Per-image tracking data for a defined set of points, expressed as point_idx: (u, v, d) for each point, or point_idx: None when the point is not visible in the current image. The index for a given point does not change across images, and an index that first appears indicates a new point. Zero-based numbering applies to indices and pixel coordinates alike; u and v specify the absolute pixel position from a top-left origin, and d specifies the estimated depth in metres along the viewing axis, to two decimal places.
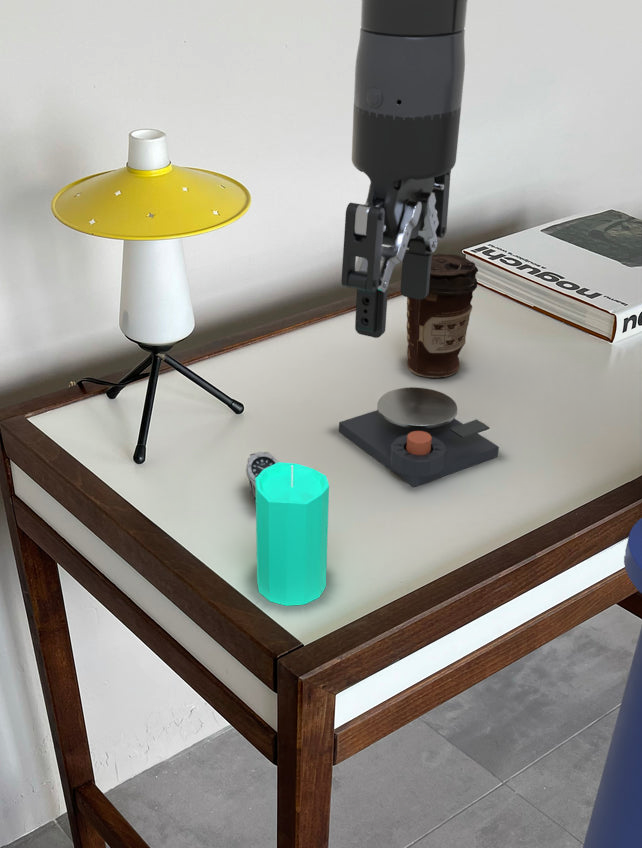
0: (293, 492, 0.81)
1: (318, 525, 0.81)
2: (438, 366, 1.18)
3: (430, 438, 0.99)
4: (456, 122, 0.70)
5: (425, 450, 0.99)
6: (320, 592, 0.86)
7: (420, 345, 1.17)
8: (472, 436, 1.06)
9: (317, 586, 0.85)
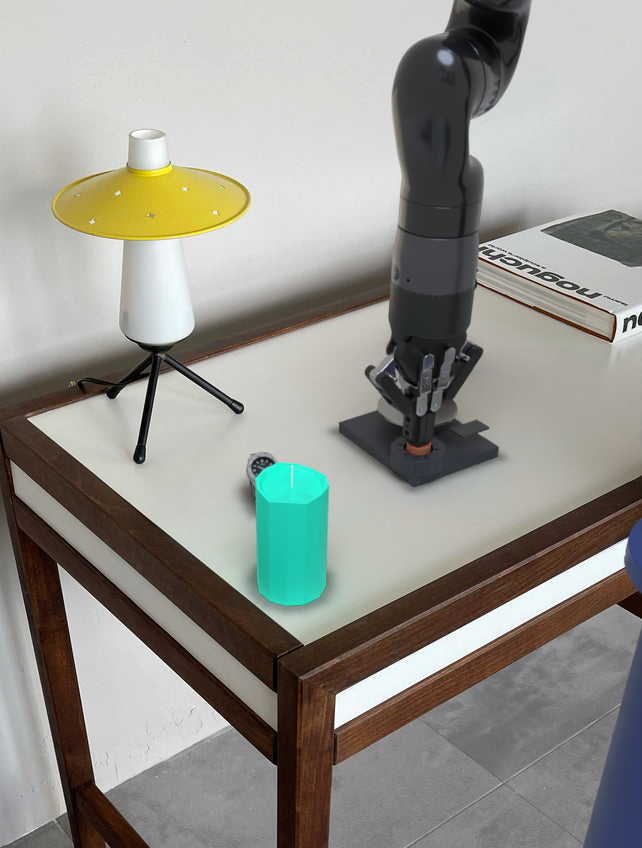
0: (293, 492, 0.81)
1: (318, 525, 0.81)
2: None
3: (429, 444, 1.00)
4: (459, 301, 0.88)
5: None
6: (320, 592, 0.86)
7: None
8: (472, 436, 1.06)
9: (317, 586, 0.85)
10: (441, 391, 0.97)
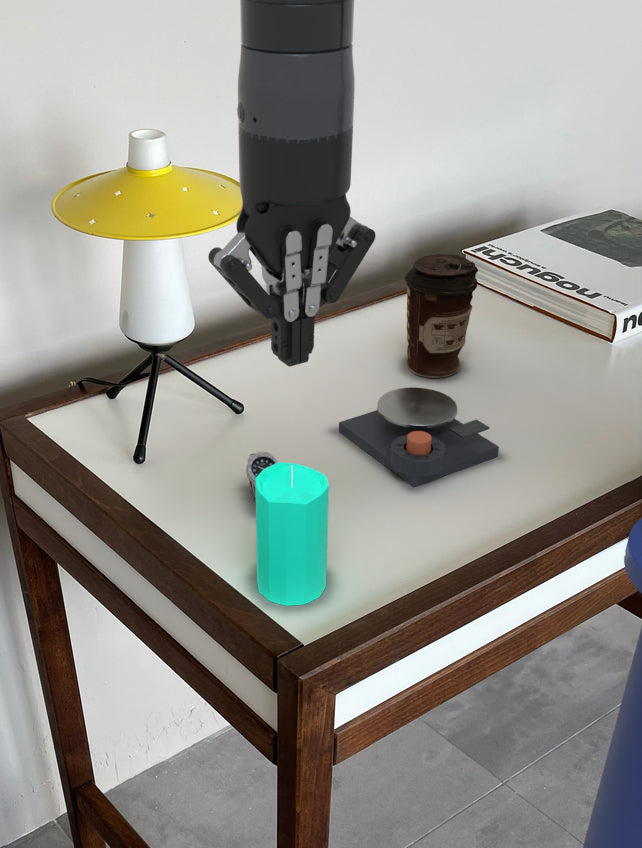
0: (293, 492, 0.81)
1: (318, 525, 0.81)
2: (438, 366, 1.18)
3: (430, 438, 0.99)
4: (327, 150, 0.64)
5: (425, 450, 0.99)
6: (320, 592, 0.86)
7: (420, 345, 1.17)
8: (472, 436, 1.06)
9: (317, 586, 0.85)
10: (318, 288, 0.72)
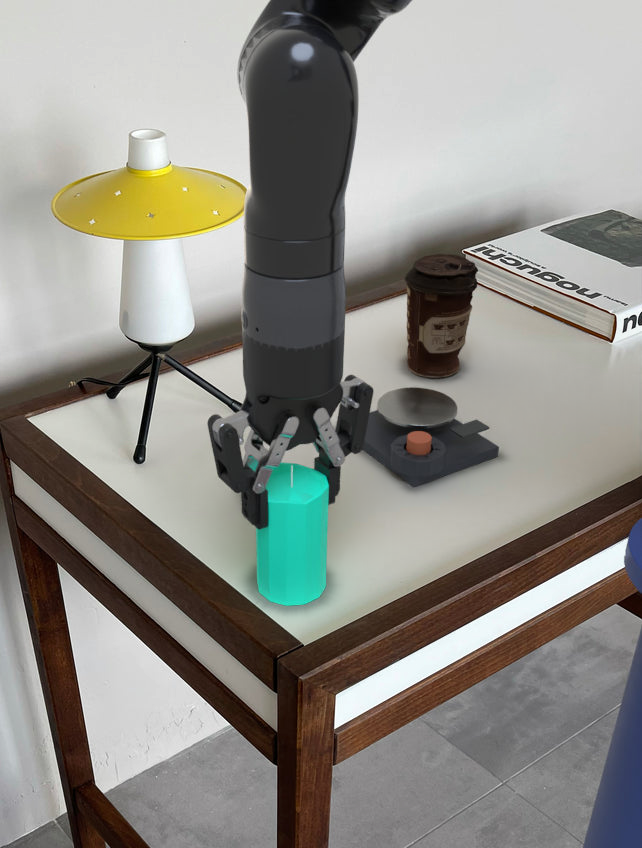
0: (293, 492, 0.81)
1: (318, 525, 0.81)
2: (438, 366, 1.18)
3: (430, 438, 0.99)
4: (322, 355, 0.72)
5: (425, 450, 0.99)
6: (320, 592, 0.86)
7: (420, 345, 1.17)
8: (472, 436, 1.06)
9: (317, 586, 0.85)
10: (336, 444, 0.80)
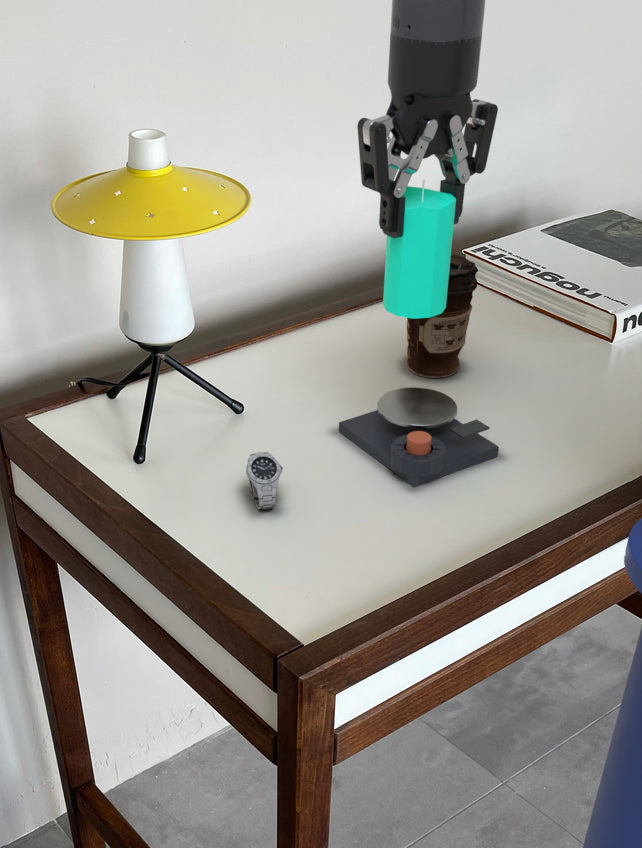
0: (424, 204, 0.91)
1: (446, 235, 0.91)
2: (438, 366, 1.18)
3: (430, 438, 0.99)
4: (465, 51, 0.81)
5: (425, 450, 0.99)
6: (442, 308, 0.96)
7: (420, 345, 1.17)
8: (472, 436, 1.06)
9: (441, 301, 0.95)
10: (464, 160, 0.90)
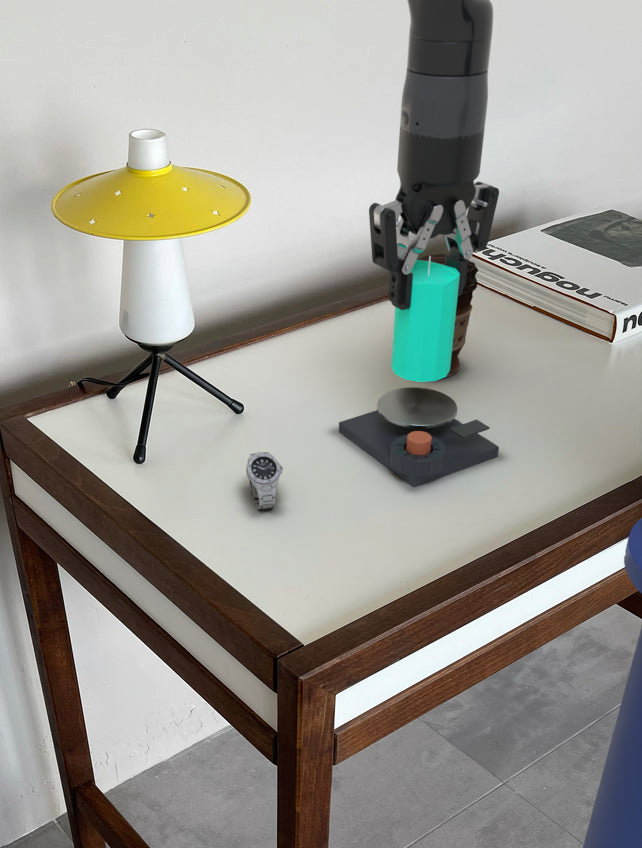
0: (430, 279, 0.98)
1: (451, 307, 0.98)
2: None
3: (430, 438, 0.99)
4: (469, 145, 0.89)
5: (425, 450, 0.99)
6: (446, 372, 1.03)
7: None
8: (472, 436, 1.06)
9: (445, 365, 1.02)
10: (467, 238, 0.97)
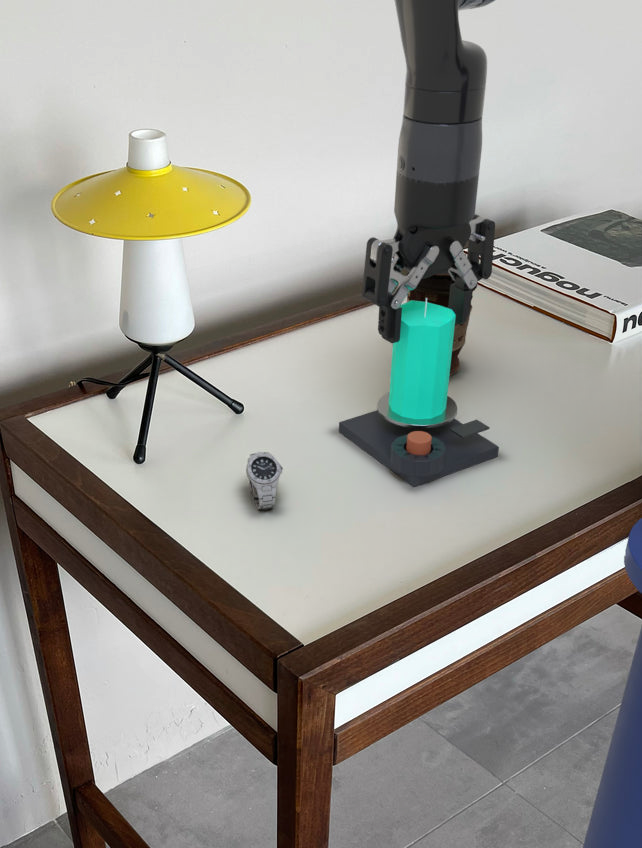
0: (427, 320, 1.00)
1: (446, 347, 1.01)
2: None
3: (430, 438, 0.99)
4: (464, 190, 0.91)
5: (425, 450, 0.99)
6: (443, 410, 1.05)
7: None
8: (472, 436, 1.06)
9: (441, 403, 1.04)
10: (469, 270, 0.99)
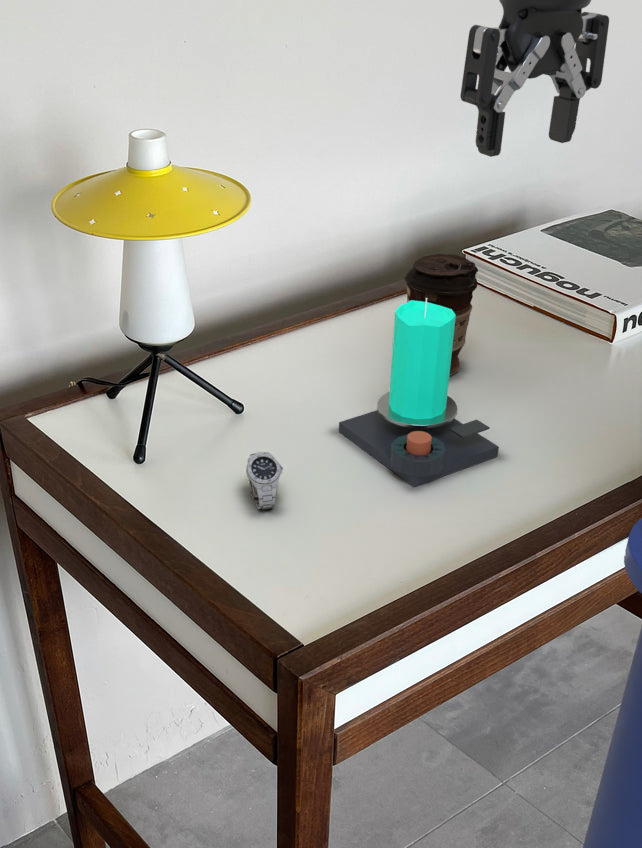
0: (427, 320, 1.00)
1: (446, 347, 1.01)
2: None
3: (430, 438, 0.99)
4: None
5: (425, 450, 0.99)
6: (443, 410, 1.05)
7: None
8: (472, 436, 1.06)
9: (441, 403, 1.04)
10: (579, 75, 0.88)
